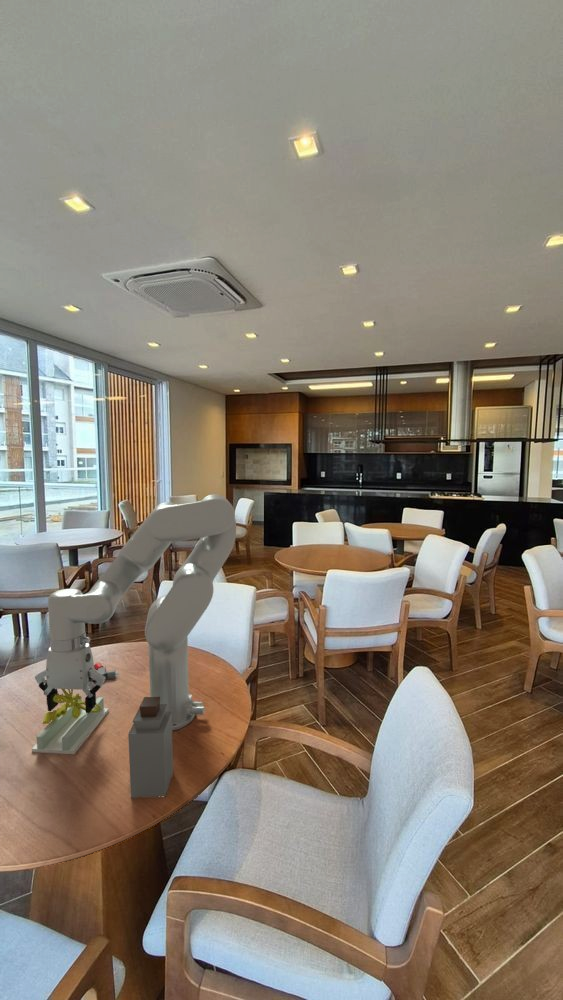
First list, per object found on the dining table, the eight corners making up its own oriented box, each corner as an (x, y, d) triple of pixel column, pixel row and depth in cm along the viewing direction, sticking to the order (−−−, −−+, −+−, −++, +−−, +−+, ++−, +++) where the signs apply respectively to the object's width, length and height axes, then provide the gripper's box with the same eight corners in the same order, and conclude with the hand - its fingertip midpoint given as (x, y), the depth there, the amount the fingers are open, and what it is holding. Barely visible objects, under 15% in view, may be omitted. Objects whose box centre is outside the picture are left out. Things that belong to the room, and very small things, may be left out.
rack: (108, 711, 110) (108, 697, 109) (74, 754, 94) (73, 738, 93) (72, 709, 110) (71, 696, 110) (32, 751, 95) (31, 736, 94)
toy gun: (118, 680, 126) (118, 665, 125) (75, 687, 122) (74, 671, 121) (120, 665, 135) (120, 650, 134) (79, 671, 131) (79, 656, 131)
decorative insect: (68, 733, 103) (102, 706, 105) (66, 742, 100) (101, 714, 102) (29, 701, 99) (66, 673, 100) (26, 710, 96) (63, 681, 97)
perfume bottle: (173, 771, 89) (170, 691, 87) (165, 797, 82) (162, 711, 80) (141, 772, 89) (138, 692, 87) (130, 798, 82) (127, 712, 80)
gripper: (110, 635, 103) (113, 701, 105) (43, 633, 104) (47, 698, 106) (94, 649, 95) (98, 720, 97) (23, 647, 97) (27, 716, 98)
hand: (71, 708), depth 102 cm, fingers open, 9 cm apart
